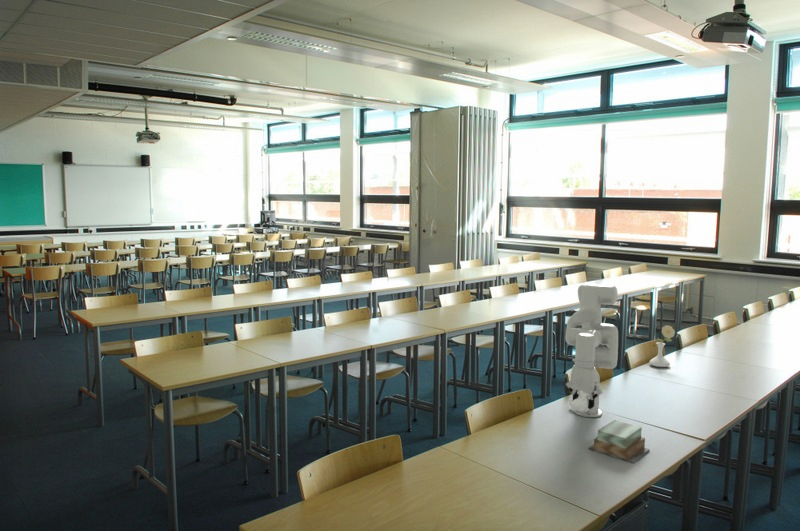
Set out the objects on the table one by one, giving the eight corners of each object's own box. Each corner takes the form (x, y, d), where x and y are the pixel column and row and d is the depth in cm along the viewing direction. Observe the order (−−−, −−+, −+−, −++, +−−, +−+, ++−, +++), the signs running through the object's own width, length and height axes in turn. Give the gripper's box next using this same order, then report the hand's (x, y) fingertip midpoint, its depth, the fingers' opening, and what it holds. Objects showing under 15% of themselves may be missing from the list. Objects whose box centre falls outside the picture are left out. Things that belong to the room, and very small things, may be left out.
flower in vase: (650, 367, 344) (652, 326, 341) (648, 362, 355) (650, 322, 352) (674, 369, 340) (676, 327, 337) (671, 364, 351) (673, 323, 348)
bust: (573, 419, 236) (588, 403, 229) (561, 403, 240) (576, 387, 233) (592, 412, 243) (607, 396, 236) (580, 397, 247) (595, 381, 240)
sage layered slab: (588, 449, 231) (589, 427, 230) (605, 438, 242) (606, 417, 241) (633, 463, 219) (634, 440, 218) (649, 451, 230) (650, 429, 229)
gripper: (560, 361, 240) (559, 403, 242) (600, 370, 228) (599, 414, 230) (569, 357, 245) (568, 398, 248) (609, 365, 233) (607, 408, 236)
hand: (583, 405), depth 239 cm, fingers closed on bust, 6 cm apart
